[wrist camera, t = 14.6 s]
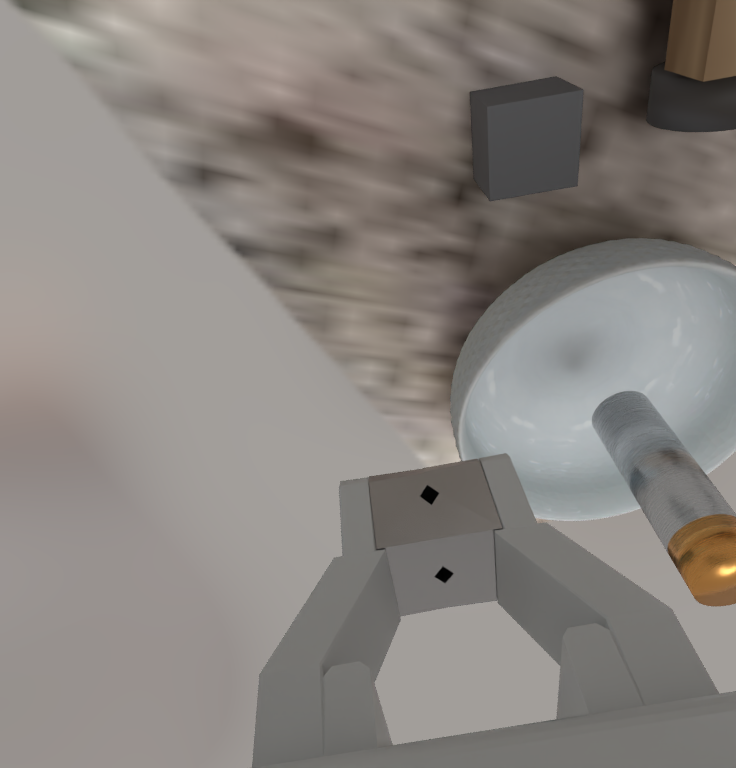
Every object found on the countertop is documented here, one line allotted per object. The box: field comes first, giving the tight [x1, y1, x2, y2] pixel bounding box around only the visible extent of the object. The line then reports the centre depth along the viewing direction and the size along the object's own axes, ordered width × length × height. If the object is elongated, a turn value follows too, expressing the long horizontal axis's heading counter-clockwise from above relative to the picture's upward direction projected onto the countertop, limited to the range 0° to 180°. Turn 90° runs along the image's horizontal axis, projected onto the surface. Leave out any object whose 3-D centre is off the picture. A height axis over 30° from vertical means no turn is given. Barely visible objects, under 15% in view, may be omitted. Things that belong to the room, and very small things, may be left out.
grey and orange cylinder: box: [592, 391, 736, 606], centre depth 26 cm, size 3×3×10 cm
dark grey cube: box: [470, 77, 584, 201], centre depth 27 cm, size 4×4×4 cm
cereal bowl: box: [450, 238, 736, 521], centre depth 33 cm, size 17×17×7 cm
